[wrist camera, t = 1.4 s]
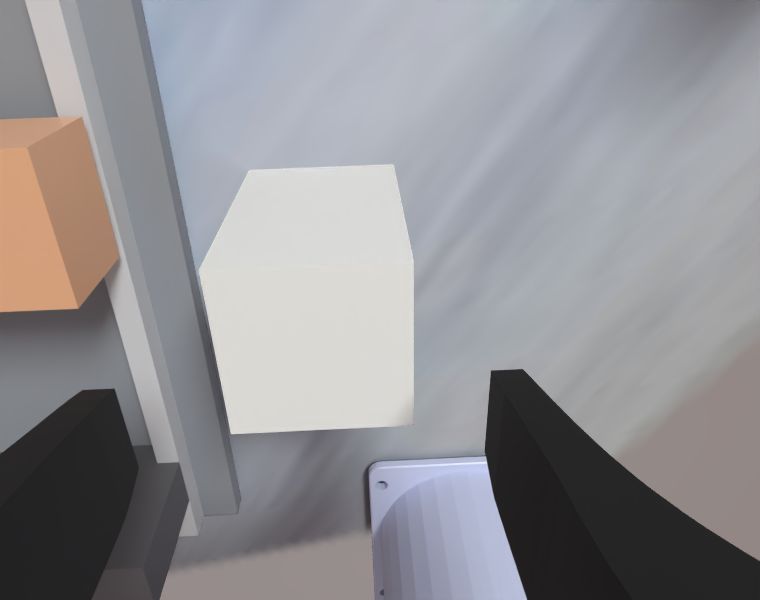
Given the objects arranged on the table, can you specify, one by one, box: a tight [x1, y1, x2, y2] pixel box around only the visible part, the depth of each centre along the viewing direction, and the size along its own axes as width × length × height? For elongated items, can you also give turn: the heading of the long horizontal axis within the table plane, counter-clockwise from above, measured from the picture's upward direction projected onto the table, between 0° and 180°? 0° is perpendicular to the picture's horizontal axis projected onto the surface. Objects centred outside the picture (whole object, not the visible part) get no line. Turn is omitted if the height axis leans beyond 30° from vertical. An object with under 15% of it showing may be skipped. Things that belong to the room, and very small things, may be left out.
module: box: [199, 164, 414, 434], centre depth 17 cm, size 4×4×7 cm
